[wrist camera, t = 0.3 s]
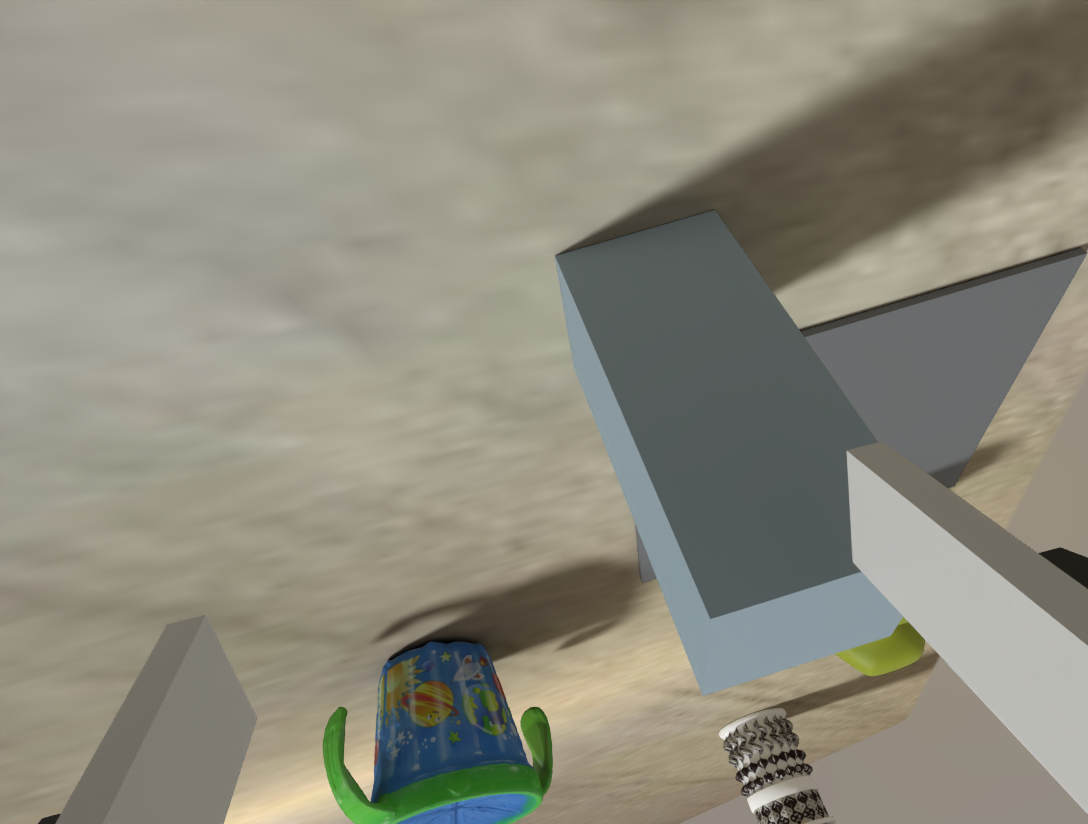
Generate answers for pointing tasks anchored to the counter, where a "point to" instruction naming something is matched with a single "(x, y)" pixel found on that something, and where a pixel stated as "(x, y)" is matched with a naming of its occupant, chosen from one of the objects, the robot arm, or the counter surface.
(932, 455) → the mat
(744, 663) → the block
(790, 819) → the patterned white cylinder
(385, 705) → the snack cup
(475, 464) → the counter surface
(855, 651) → the dumbbell
